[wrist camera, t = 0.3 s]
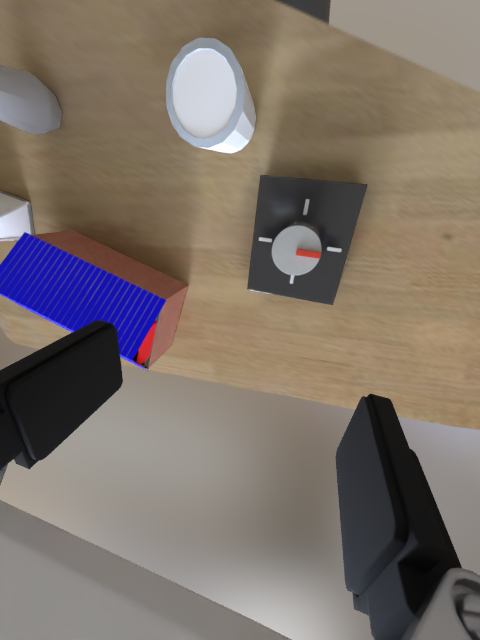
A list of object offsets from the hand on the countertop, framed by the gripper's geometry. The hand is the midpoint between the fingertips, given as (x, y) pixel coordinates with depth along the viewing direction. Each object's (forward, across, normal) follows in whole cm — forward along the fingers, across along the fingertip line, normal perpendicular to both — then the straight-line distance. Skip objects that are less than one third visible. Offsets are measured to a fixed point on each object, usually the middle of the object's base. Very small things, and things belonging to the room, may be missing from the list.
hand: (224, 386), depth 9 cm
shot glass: (+24, +9, -13) cm, 29 cm away
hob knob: (+21, -1, -2) cm, 21 cm away
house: (+24, +24, +9) cm, 35 cm away
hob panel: (+24, -1, -2) cm, 24 cm away
